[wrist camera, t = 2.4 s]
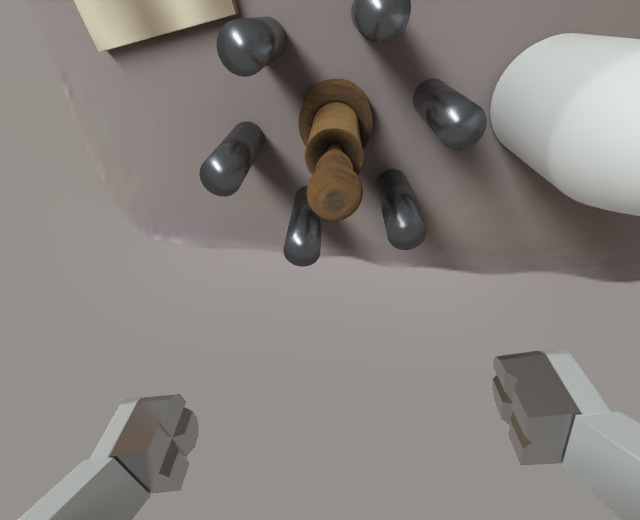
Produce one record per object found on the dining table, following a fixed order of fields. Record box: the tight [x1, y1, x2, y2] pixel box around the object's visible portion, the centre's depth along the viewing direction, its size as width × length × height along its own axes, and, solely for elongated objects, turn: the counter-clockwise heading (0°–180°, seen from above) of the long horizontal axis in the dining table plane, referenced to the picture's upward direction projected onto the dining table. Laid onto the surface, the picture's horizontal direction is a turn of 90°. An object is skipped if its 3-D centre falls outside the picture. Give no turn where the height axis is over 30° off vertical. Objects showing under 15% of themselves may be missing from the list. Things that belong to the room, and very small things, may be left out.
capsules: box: [200, 0, 487, 266], centre depth 29 cm, size 20×18×10 cm
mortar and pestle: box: [299, 79, 373, 221], centre depth 26 cm, size 7×6×18 cm
